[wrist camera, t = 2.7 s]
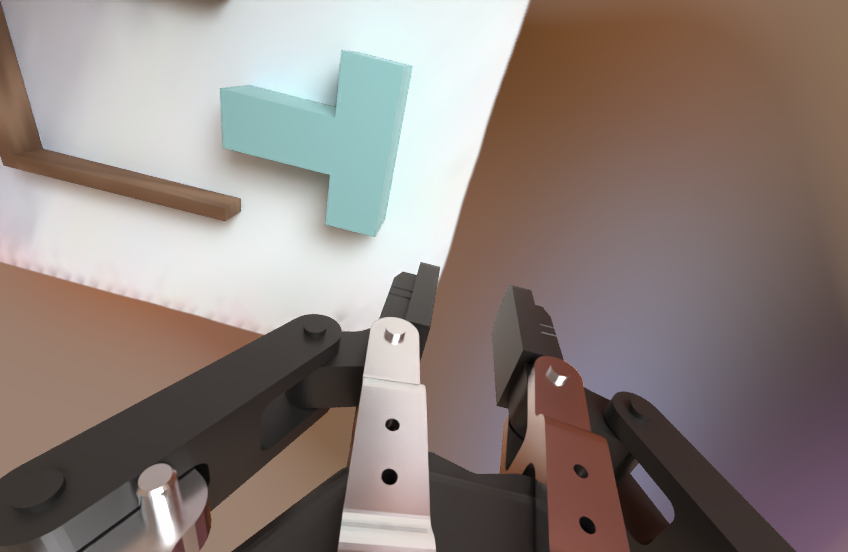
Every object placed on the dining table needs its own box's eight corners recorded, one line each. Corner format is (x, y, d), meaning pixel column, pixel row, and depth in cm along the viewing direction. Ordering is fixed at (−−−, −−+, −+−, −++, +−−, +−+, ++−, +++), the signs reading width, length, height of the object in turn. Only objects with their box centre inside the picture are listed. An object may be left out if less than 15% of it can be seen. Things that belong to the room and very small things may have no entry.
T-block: (249, 23, 27) (216, 18, 23) (412, 65, 27) (403, 66, 24) (251, 185, 33) (225, 199, 29) (385, 218, 33) (374, 236, 30)
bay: (-46, -99, 25) (-94, -115, 23) (233, -27, 25) (211, -35, 23) (33, 158, 34) (3, 165, 32) (241, 211, 34) (225, 221, 32)
